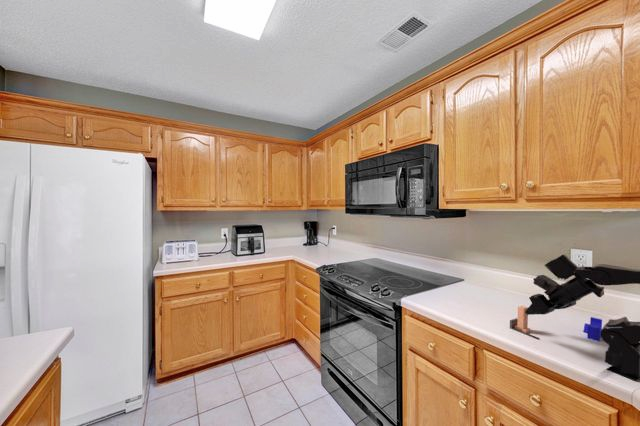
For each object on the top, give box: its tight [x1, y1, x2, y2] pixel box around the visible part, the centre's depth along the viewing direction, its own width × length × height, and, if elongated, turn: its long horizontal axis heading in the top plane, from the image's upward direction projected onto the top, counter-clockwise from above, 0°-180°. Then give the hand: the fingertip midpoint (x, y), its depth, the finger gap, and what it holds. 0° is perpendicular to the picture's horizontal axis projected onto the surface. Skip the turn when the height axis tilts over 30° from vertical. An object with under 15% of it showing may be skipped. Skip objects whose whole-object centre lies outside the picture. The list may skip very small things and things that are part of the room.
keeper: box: [514, 305, 531, 334], centre depth 100 cm, size 4×3×9 cm
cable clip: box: [582, 316, 603, 342], centre depth 98 cm, size 12×4×6 cm, turn 130°
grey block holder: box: [509, 317, 540, 340], centre depth 98 cm, size 10×5×4 cm, turn 24°
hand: (533, 311), depth 96 cm, fingers open, 9 cm apart
